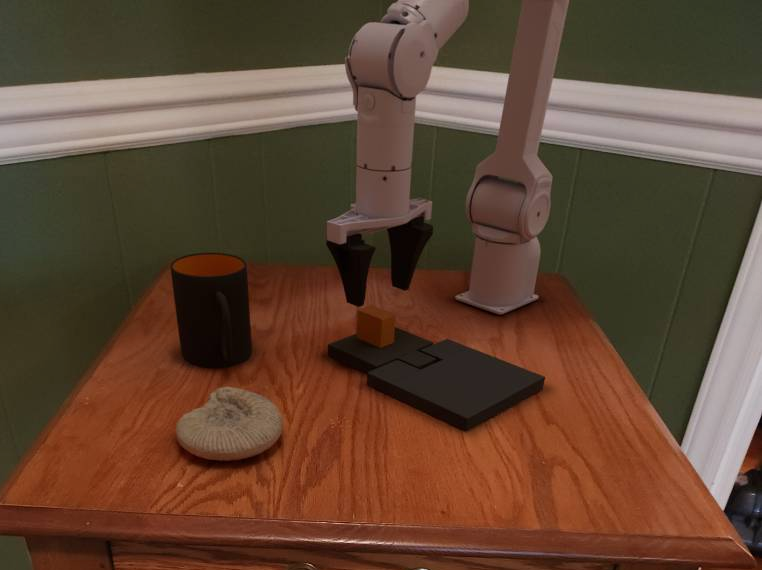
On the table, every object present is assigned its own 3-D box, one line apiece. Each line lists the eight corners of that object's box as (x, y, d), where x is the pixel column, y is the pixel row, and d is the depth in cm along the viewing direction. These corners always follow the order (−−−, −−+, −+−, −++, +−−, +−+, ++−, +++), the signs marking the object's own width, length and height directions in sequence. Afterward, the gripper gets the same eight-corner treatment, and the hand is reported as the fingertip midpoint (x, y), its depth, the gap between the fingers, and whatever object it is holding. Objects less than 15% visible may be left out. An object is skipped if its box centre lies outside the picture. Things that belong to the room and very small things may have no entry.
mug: (195, 386, 79) (184, 292, 73) (175, 343, 88) (164, 255, 82) (269, 376, 82) (264, 284, 75) (242, 335, 91) (236, 249, 84)
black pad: (384, 333, 92) (386, 294, 89) (453, 362, 86) (458, 321, 83) (327, 356, 87) (327, 315, 83) (397, 388, 81) (400, 345, 77)
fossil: (183, 373, 73) (283, 383, 74) (183, 407, 75) (280, 416, 76) (169, 428, 64) (283, 438, 65) (170, 464, 66) (280, 473, 68)
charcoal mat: (445, 350, 89) (447, 338, 88) (542, 389, 81) (545, 376, 80) (366, 384, 81) (366, 372, 80) (465, 431, 73) (467, 418, 72)
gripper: (402, 150, 81) (395, 272, 90) (305, 168, 73) (308, 301, 82) (451, 161, 78) (439, 287, 86) (355, 181, 69) (352, 319, 78)
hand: (378, 295), depth 84 cm, fingers open, 7 cm apart
